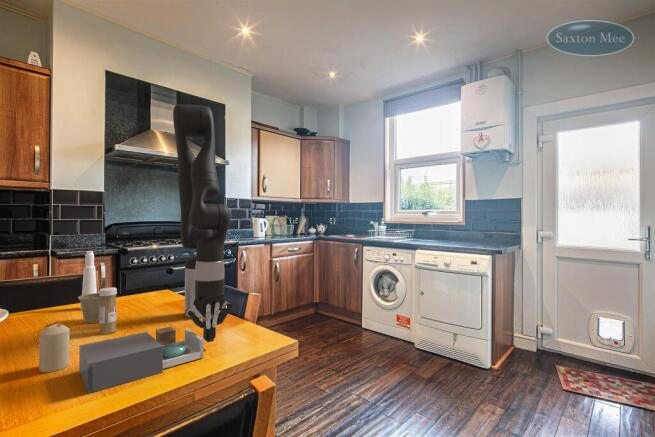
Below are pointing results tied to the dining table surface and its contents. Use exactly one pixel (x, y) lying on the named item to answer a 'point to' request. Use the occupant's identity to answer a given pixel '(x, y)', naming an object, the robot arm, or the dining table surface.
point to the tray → (187, 350)
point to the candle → (54, 348)
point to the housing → (119, 361)
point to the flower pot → (90, 307)
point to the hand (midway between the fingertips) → (209, 341)
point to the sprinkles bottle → (107, 310)
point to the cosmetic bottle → (89, 275)
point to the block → (166, 335)
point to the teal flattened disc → (174, 350)
